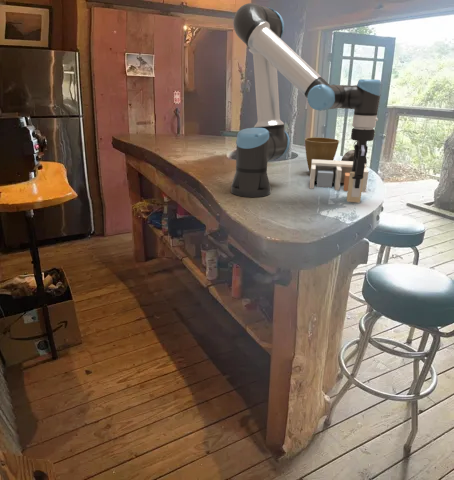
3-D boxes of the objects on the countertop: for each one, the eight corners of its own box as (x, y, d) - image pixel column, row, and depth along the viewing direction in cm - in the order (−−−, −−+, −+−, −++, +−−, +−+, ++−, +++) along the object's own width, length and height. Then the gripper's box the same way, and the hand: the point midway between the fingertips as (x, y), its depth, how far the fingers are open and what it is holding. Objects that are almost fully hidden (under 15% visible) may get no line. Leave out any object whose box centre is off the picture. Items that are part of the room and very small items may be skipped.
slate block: (316, 186, 164) (318, 172, 162) (316, 183, 170) (317, 169, 167) (331, 187, 163) (333, 173, 161) (331, 184, 169) (332, 170, 166)
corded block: (344, 201, 144) (348, 173, 141) (343, 187, 164) (346, 162, 160) (362, 202, 143) (366, 175, 139) (358, 188, 162) (362, 163, 159)
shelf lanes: (309, 188, 161) (311, 166, 158) (309, 179, 175) (311, 159, 172) (365, 192, 157) (369, 169, 154) (361, 183, 171) (364, 161, 168)
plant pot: (295, 174, 185) (298, 139, 179) (313, 170, 195) (316, 136, 189) (324, 180, 175) (328, 142, 169) (340, 175, 185) (345, 139, 179)
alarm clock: (359, 175, 185) (364, 139, 179) (366, 178, 180) (371, 141, 174) (338, 176, 183) (342, 140, 177) (344, 179, 178) (349, 141, 172)
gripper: (379, 131, 128) (368, 202, 136) (371, 125, 144) (362, 189, 152) (354, 130, 129) (345, 200, 138) (349, 125, 145) (341, 187, 154)
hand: (354, 194), depth 145 cm, fingers closed on corded block, 5 cm apart
